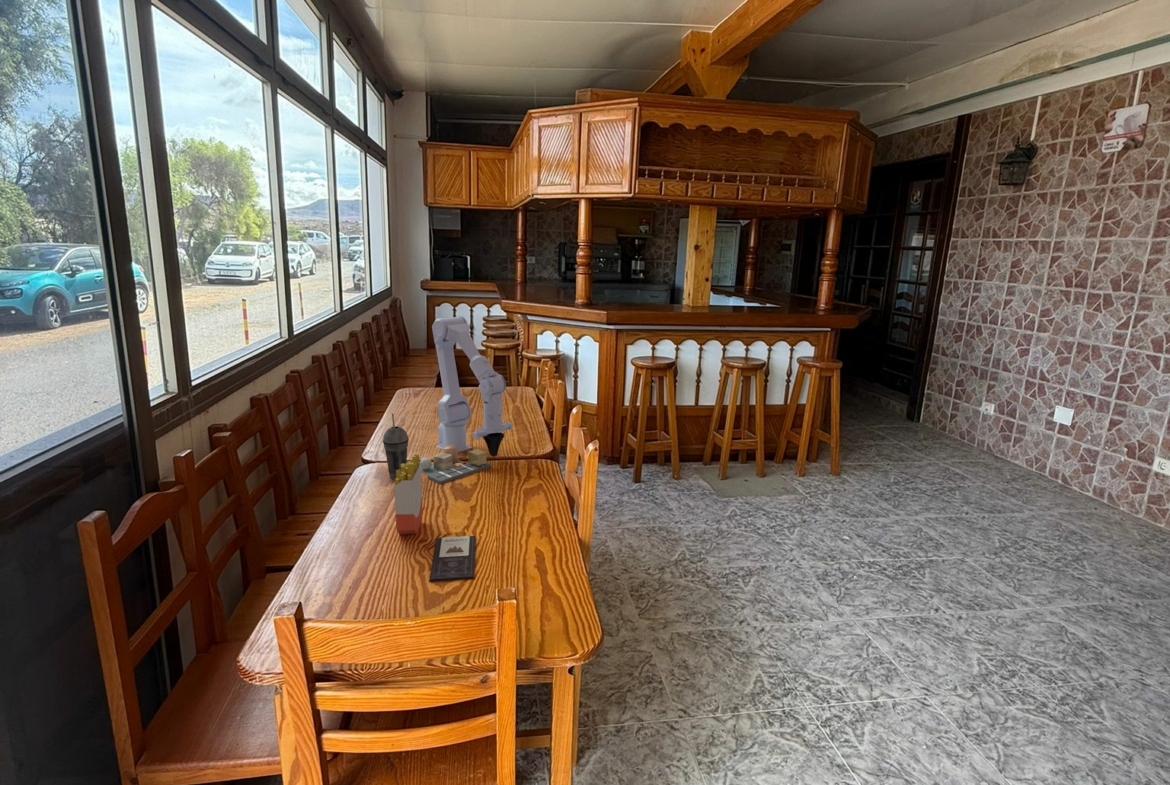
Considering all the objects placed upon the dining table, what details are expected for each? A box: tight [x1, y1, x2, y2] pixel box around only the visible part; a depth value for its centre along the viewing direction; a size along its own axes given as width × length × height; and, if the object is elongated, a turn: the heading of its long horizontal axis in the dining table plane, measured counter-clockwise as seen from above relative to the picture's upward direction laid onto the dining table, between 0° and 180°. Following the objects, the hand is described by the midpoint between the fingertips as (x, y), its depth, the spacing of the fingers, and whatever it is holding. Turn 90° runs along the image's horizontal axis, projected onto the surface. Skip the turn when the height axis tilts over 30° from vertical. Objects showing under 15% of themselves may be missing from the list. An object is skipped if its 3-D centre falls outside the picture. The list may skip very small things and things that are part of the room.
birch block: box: [433, 452, 453, 471], centre depth 184 cm, size 4×4×4 cm
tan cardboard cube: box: [467, 448, 487, 466], centre depth 185 cm, size 4×4×4 cm
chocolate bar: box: [428, 535, 476, 583], centre depth 133 cm, size 9×1×18 cm
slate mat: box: [420, 459, 465, 476], centre depth 185 cm, size 8×14×1 cm, turn 139°
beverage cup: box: [382, 412, 410, 481], centre depth 174 cm, size 7×7×20 cm
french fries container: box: [394, 453, 423, 535], centre depth 144 cm, size 5×11×18 cm, turn 5°
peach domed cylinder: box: [442, 445, 459, 464], centre depth 188 cm, size 4×4×5 cm
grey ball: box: [419, 457, 433, 470], centre depth 182 cm, size 4×4×4 cm
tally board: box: [427, 461, 492, 485], centre depth 181 cm, size 6×19×1 cm, turn 139°
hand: (493, 455), depth 190 cm, fingers closed
